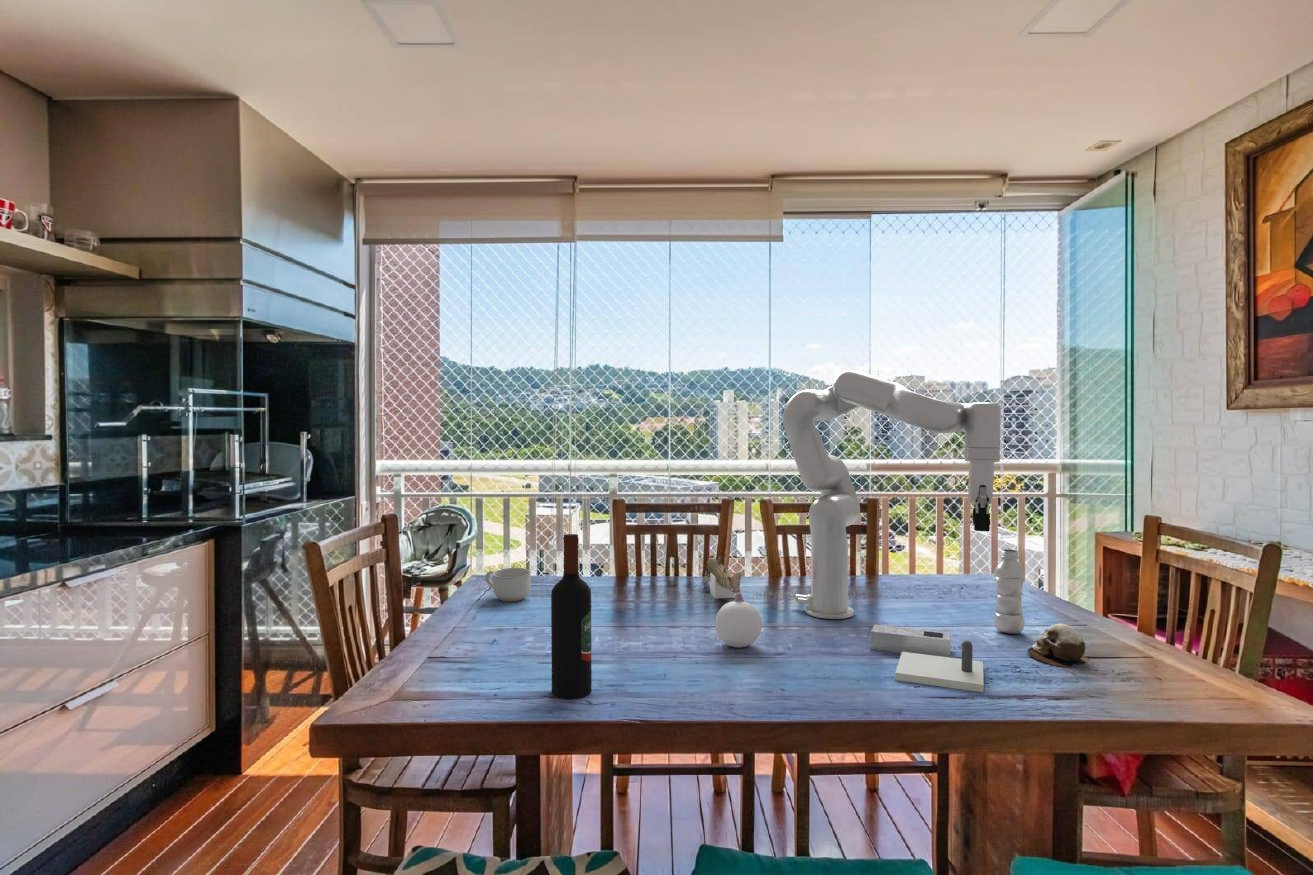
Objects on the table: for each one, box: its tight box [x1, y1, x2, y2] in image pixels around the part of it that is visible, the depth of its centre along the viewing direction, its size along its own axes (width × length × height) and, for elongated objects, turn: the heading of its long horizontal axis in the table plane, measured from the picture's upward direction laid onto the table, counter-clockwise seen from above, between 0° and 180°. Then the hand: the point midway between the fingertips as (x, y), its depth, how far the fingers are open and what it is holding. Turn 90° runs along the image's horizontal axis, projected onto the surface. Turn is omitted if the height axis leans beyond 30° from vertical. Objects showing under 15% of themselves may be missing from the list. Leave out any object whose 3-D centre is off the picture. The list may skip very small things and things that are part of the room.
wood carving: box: [702, 556, 743, 599], centre depth 210 cm, size 9×35×11 cm, turn 8°
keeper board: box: [894, 640, 985, 693], centre depth 147 cm, size 16×14×8 cm
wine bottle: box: [550, 533, 593, 700], centre depth 138 cm, size 8×8×30 cm
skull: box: [1027, 623, 1092, 669], centre depth 157 cm, size 12×10×10 cm
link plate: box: [870, 624, 952, 658], centre depth 163 cm, size 16×6×4 cm, turn 66°
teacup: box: [485, 567, 532, 603], centre depth 209 cm, size 14×11×8 cm
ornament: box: [714, 593, 763, 648], centre depth 165 cm, size 10×10×12 cm
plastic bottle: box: [993, 548, 1025, 635], centre depth 175 cm, size 6×7×20 cm
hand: (980, 527), depth 170 cm, fingers open, 9 cm apart
